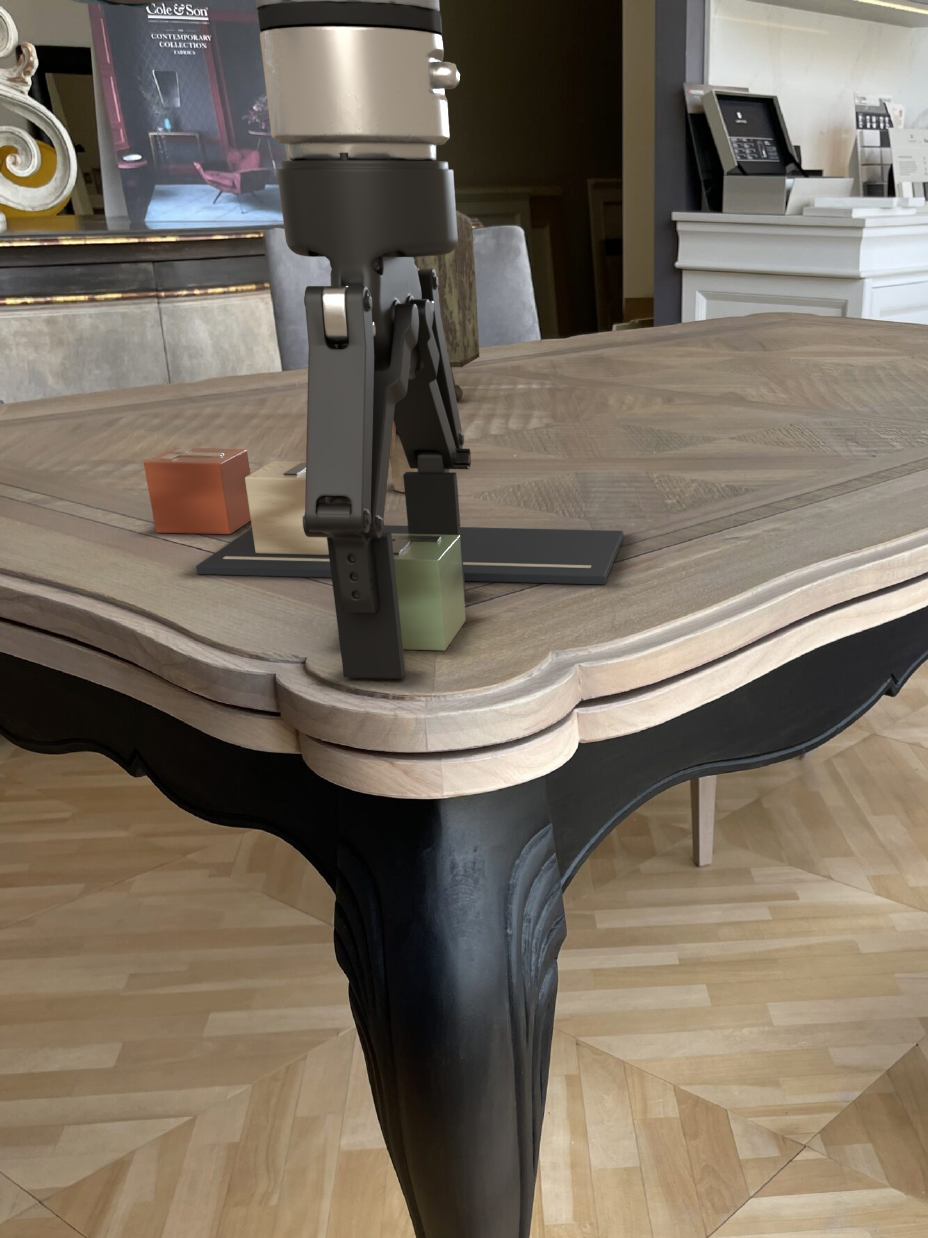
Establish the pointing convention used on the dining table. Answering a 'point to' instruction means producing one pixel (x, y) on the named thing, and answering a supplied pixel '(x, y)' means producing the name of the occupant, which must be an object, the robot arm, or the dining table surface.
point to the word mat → (482, 550)
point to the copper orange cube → (199, 490)
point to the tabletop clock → (457, 297)
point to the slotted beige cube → (281, 510)
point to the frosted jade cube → (429, 589)
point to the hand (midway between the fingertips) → (410, 632)
